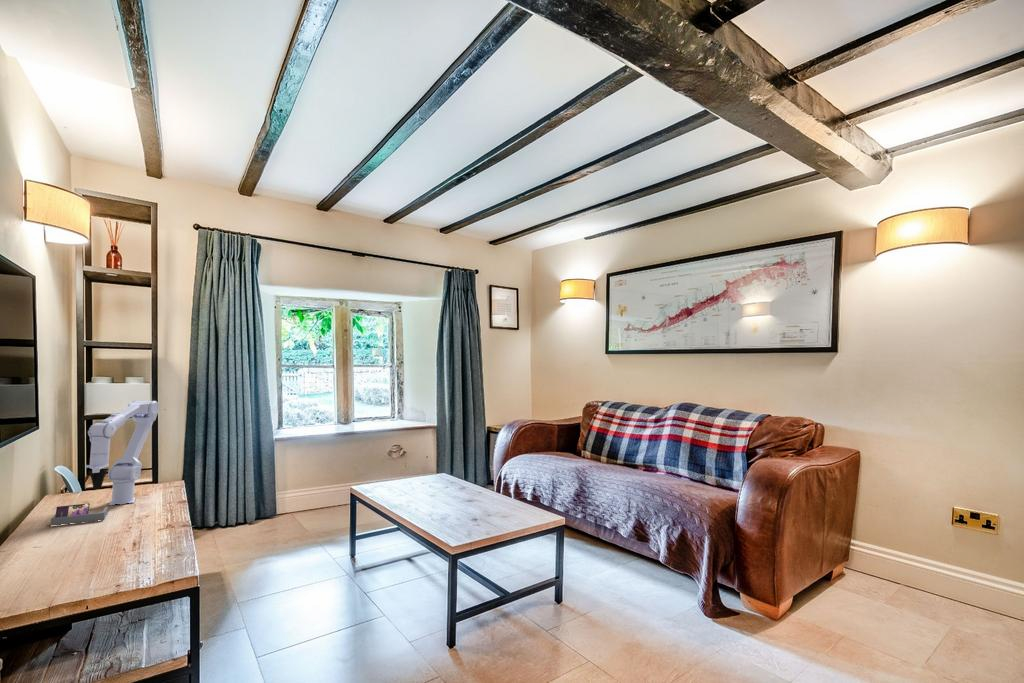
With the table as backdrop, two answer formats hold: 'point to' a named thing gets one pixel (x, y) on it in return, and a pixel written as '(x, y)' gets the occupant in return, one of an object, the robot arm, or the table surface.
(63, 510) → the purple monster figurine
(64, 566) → the table surface
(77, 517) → the holder
